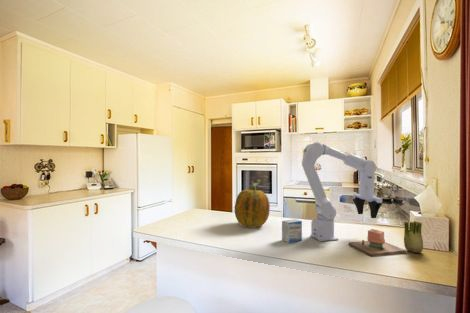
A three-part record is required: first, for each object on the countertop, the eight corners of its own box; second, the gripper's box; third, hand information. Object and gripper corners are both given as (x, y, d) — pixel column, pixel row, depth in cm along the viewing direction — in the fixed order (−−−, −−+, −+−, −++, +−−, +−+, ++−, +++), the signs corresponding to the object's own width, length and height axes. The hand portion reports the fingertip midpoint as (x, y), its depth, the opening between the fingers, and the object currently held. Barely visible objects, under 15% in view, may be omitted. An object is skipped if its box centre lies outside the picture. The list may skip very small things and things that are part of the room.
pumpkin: (267, 222, 131) (267, 178, 132) (271, 232, 112) (272, 181, 112) (234, 221, 131) (235, 178, 132) (233, 231, 112) (234, 181, 113)
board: (371, 256, 84) (371, 249, 84) (348, 244, 96) (348, 238, 96) (406, 253, 88) (406, 246, 88) (379, 242, 100) (379, 236, 100)
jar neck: (376, 248, 89) (376, 244, 89) (366, 244, 94) (366, 240, 94) (385, 247, 90) (385, 243, 90) (375, 243, 95) (375, 239, 95)
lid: (387, 241, 92) (387, 231, 92) (381, 245, 88) (381, 233, 88) (370, 237, 96) (370, 227, 96) (364, 240, 92) (364, 230, 93)
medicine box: (288, 243, 97) (288, 222, 97) (281, 240, 101) (281, 220, 101) (302, 240, 101) (302, 220, 101) (295, 237, 105) (295, 218, 105)
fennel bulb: (403, 251, 90) (403, 220, 90) (405, 248, 93) (404, 218, 93) (422, 255, 86) (422, 223, 86) (423, 251, 89) (423, 221, 90)
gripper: (387, 187, 98) (387, 219, 98) (361, 184, 113) (361, 212, 112) (374, 188, 97) (374, 220, 96) (349, 184, 111) (349, 212, 111)
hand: (366, 215), depth 104 cm, fingers open, 7 cm apart
